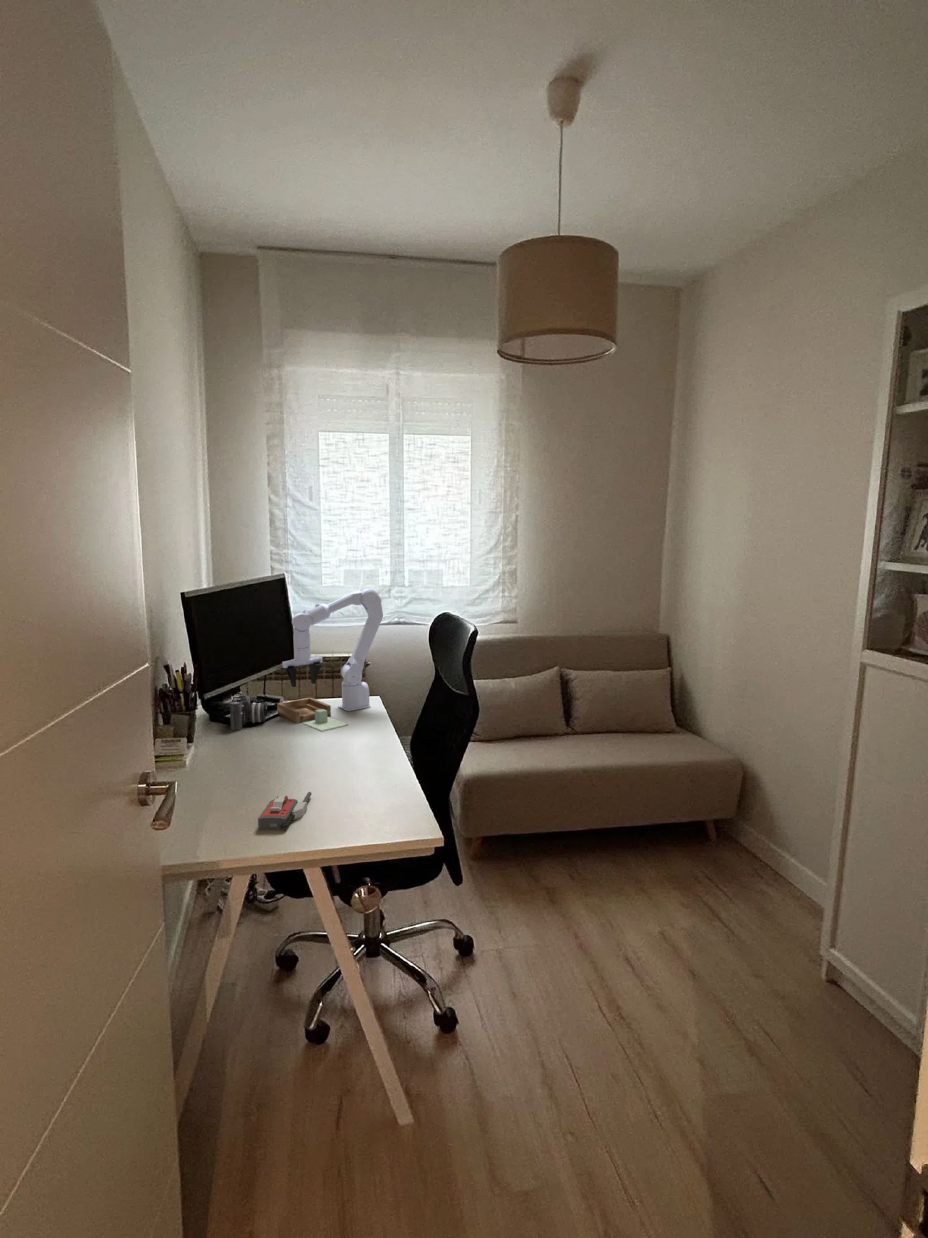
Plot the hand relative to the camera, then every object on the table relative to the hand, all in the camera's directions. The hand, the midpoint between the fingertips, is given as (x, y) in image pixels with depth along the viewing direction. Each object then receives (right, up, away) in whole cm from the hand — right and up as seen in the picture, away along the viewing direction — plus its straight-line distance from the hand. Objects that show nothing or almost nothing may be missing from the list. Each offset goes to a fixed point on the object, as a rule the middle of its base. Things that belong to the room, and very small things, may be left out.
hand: (303, 684), depth 255 cm
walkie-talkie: (+15, -23, -87) cm, 91 cm away
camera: (-16, -12, -13) cm, 24 cm away
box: (+1, -10, -3) cm, 11 cm away
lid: (+11, -13, -14) cm, 22 cm away
